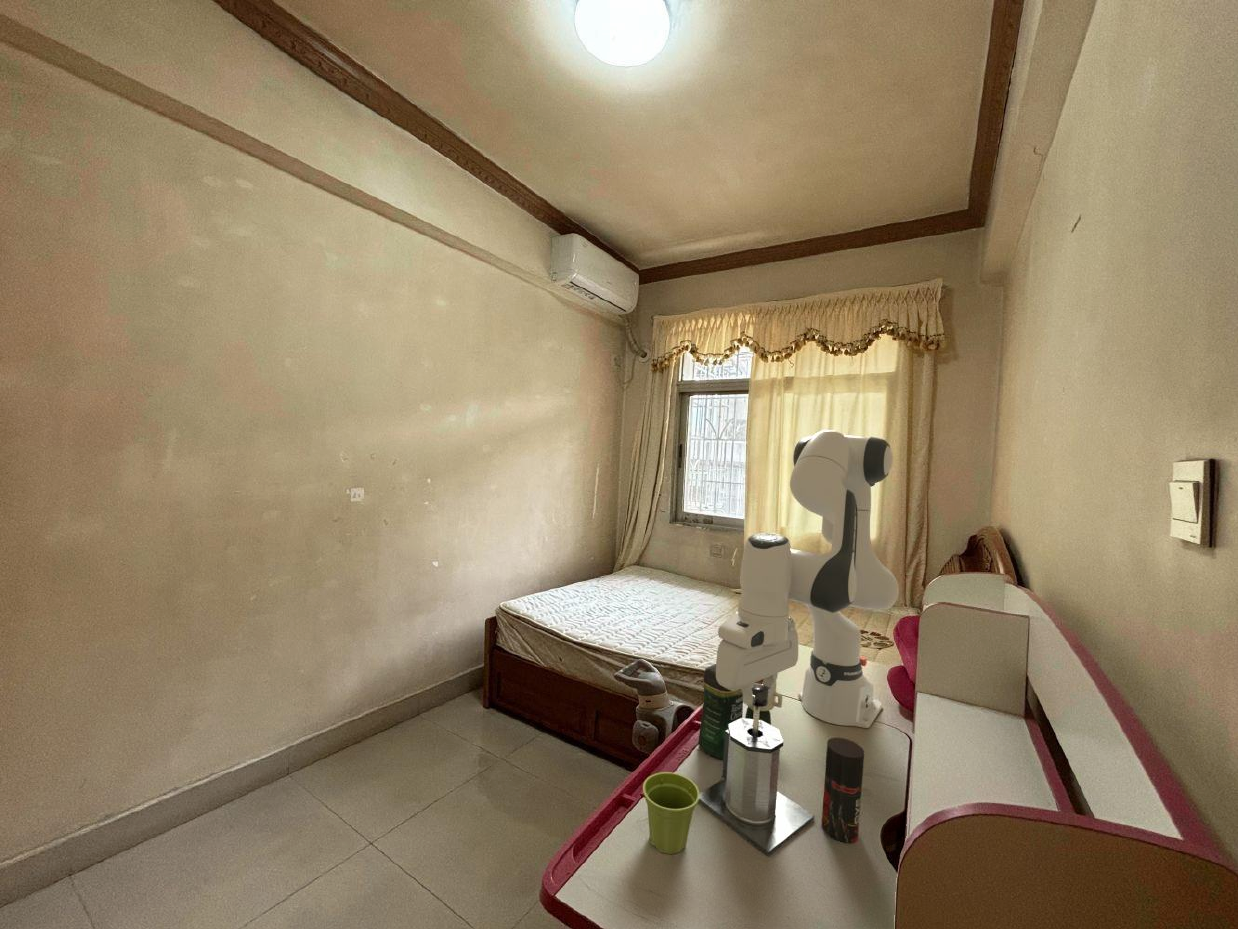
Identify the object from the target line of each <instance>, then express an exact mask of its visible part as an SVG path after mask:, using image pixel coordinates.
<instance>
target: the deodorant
mask: <svg viewBox="0 0 1238 929" xmlns="http://www.w3.org/2000/svg"><path fill="white" fill-rule="evenodd" d="M864 760H865V751H864V748H863V747H862V746H861V745H859V744H858V743H857V742H855V741H853V740H850V739H848V738H846V737H845V738H844V737H831V738H829V739H828V740H827V742H826V757H825V768H824V769H825V771H824V784H823V798H822V811H821V812H822V813H821V829H822V831H823V833H824V834H825V835H826V836H827V837H829V838H830V839H832V840H834V841H835V842H838V843H840V844H846V845H847V844H850V845H851V844H854V843H855V842H857V840H858V838H859V828H860V816H861V804H862V802H861V801H862V790H863V789H862V787H863V775H864V763H865V761H864Z"/></svg>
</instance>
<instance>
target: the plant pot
mask: <svg viewBox="0 0 1238 929" xmlns="http://www.w3.org/2000/svg"><path fill="white" fill-rule="evenodd" d="M642 793H643V795H644V797H645V802H646V804H647V805H646V807H647V815H648V825H649V826H648V828H649V838H650V839H649V840H650V842H651V844H652V845H653V846H654V847H656V849H657V850H658V851H659V852H661V853H665V854H670V855H672V854H673V855H675V854H678V853H679V852H681V850H683V849H685V847H686V846H687V842H688V836H689V833H690V827H691V821H692V817H693V812H694V810H695V808H696V805H697V804H698V803H699V802H698V800H699V793H700V791H699V788H698V786H697V784H695V782H693V780H692V779H690V778H688V777H686V776H684V775H682V774H680V773H676V772H671V771H662V772H657V773H654V774H651V775H650V776H648V777H647V778H646V779H645V780H644V782H643V783H642Z"/></svg>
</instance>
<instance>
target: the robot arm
mask: <svg viewBox="0 0 1238 929" xmlns="http://www.w3.org/2000/svg"><path fill="white" fill-rule="evenodd" d="M893 457H894V456H893V452H892V449H891V445H890V444H889V443H888V442H887V439H883V438H879V437H874V436H870V437H866V436H859V435H858V436H857V435H849V434H848V435H846V434H843V433H841V432H839V431H837V430H831V429H830V430H829V429H828V430H827V429H825V430H820V431H819V432H817V433H814V435H811V436H806V437H803V438H802V439H800V440H799V441H798V442H796V445H795V446H794V450H793V460H792V461H793V466H794V467H793V470H792V471H791V472H792V473H791V476H790V481H789V487H790V491H791V494H792V496H793V497H794V499H795V500H796V502H797V503H799V505H801V506H802V507H803V508H804V509H806V510H807V511H809V512H811V513H813V514H816V515H818V516H820V517H822V520H821V534H822V536H823V538H824V540H825V541H827V543H828V544H830V545H831V547H830V548H831V550H830V551H828V552H825V553H818V552H811V551H807V550H800V549H796V548H791V543H790V540H789V538H788V537H786V536H785V535H781V534H779V533H774V532H761V533H760V532H759V533H755V534H752V535H750V536H749V537H748V538H747V539H746V541H745V545H744V548H743V553H742V559H741V566H740V573H739V574H740V575H739V585H740V589H741V592H740V593H741V595H740V598H739V600H738V603H737V604H738V605H737V607H738V608H737V611H735V612H734V613H733V614H732V615H731V617H730V618H728V619H727V620H726V621H724V622H723V623H722V624H721V625H720V626H719V627H718V632H717V633H718V634H717V635H718V638H720V639H722V640H720V642H719V644H718V647H717V652H716V660H715V663H716V679H717V681H718V683H719V684H720V685H721V686H723V687H725V688H727V689H729V690H731V691H736V690H738V689H741V691H742V693H743V700H742V701H743V705H746V706H747V705H748V706H751V705H753V704H755V703H756V701H755V699H756V695H755V694H753V693H752V689H751V688H753V687H754V683H755V682H757V681H760V680H762V679H764V680H763V684H762V685H763V686H765V687H767V688H768V697H770V696H772V689H773V686H774V684H775V682H776V683H777V679H778V675H779V673H781V672H783V671H786V670H788V669H790V668H793V667H795V666H796V665H797V663H798V660H799V636H798V635H799V634H798V631H797V630H796V622H795V620H794V619H793V618H792V617H791V616H790V607H789V602H788V600H789V601H792V602H796V603H797V602H798V603H801V604H804V605H805V606H806V608H807V609H808V612H809V614H810V617H811V620H812V625H813V626H812V627H813V646H812V651H811V653H810V656H809V657H810V659H809V660H810V663H809V667H808V668H806V669H805V674H804V679H803V680H804V681H803V685H802V686H803V687H802V690H801V691H799V692H798V698H799V699H800V701H801V704H802V707H803V709H804V710H805V711H806V712H807V713H808V714H810V715H811V716H813V717H815V718H816V719H819V720H820V721H824V722H827V723H829V724H833V725H838V726H847V727H849V726H851V727H857V728H858V727H859V728H863V729H868V728H870V727H871V726H872V724H873V723H874V722H875V719H876V718H877V716H878V715H879V714H880V712H881V711H882V709H883V704H882V702H881V701H880V700H878V699H877V698H876V697H874V684H873V683H872V682H871V681H870V680H869V679H868V678H867V677H866V676H865V675H864V672H863V667H866V666H867V663H868V662H867V660H868V659H867V658H865V657H862V656H861V646H862V633H861V629H860V628H859V627H858V626H857V624H856V623H855V622H854V621H853V620H852V619H849V618H848V617H846V616H845V615H844V614H842V612H840V611H843V610H844V609H846V608H848V607H852V608H858V609H862V610H867V611H868V610H869V611H873V610H874V611H875V610H876V611H878V610H879V611H884V610H885V611H887V610H890V608H892V607H893V606H894V605H895V603H896V602H897V601H898V599H899V594H900V586H899V583H898V580H897V578H896V577H895V575H894V573H892V571H890V570H889V569H888V568H887V566H885V565H884V564H883V563H882V561H880V559H879V558H878V556H877V555H876V553H875V550H874V549H873V548H874V547H873V545H872V542H871V541H872V540H871V513H872V512H871V510H872V489H871V488H872V487H874V486H875V485H876V484H877V483H880V482H882V481H883V480H884V479H886V478H887V477H888V475H889V472H890V471H891V469H892V466H893V462H894V461H893V460H894V458H893ZM748 706H747V707H748Z"/></svg>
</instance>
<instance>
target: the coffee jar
mask: <svg viewBox="0 0 1238 929" xmlns="http://www.w3.org/2000/svg"><path fill="white" fill-rule="evenodd" d="M703 672H704V674H703V679H702V681H703V682H702V685H703V701H702V702H703V703H702V704H703V705H702V713H701V721H700V725H699V726H700V727H699V732H698V733H699V734H698V746H699V747H700V748H701V750H702V751H703V752H705V753H706V754H707V755H709V756H711V757H715V758H719V759H722V760H723V757H724V741H725V731H726V730H728V724H730V723H732V722H734V721H736V720H738V719H740V718H743V717H744V716H743V714H744V713H743V711H744V703H743V701H742V700H743V693H742V691H741V689H738V690H736V691H731V690H729V689H727V688H725V687H723V686H721V685H720V684H719V683H718V681H717V679H716V664H712V665H710V666H707V667H706V668H705V669H704V671H703Z"/></svg>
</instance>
